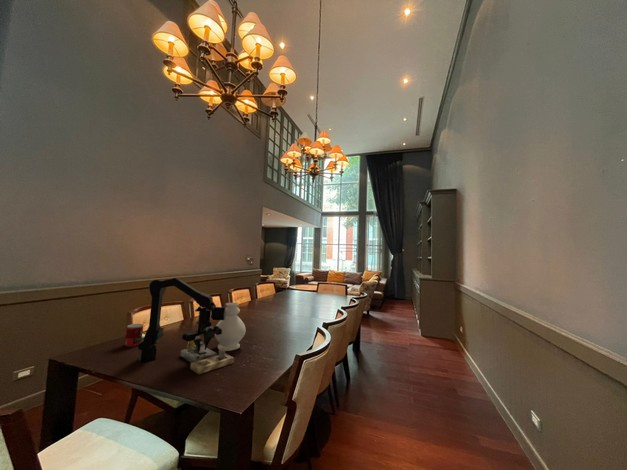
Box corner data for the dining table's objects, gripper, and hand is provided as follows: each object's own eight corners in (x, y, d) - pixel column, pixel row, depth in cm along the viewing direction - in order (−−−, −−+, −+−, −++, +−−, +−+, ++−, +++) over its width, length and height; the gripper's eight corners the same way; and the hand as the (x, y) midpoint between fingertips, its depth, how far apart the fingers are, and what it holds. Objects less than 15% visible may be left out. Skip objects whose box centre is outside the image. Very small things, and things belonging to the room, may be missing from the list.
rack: (198, 374, 112) (200, 360, 113) (190, 368, 117) (191, 355, 118) (233, 362, 126) (234, 350, 127) (224, 358, 131) (225, 346, 132)
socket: (195, 365, 121) (196, 355, 122) (180, 356, 131) (181, 346, 132) (216, 359, 130) (217, 349, 130) (200, 350, 140) (201, 341, 140)
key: (194, 351, 130) (195, 343, 130) (187, 347, 135) (187, 340, 135) (202, 349, 133) (203, 341, 133) (195, 345, 138) (195, 338, 138)
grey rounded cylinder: (199, 360, 127) (200, 344, 128) (196, 358, 129) (198, 342, 130) (205, 358, 129) (206, 342, 130) (202, 357, 131) (203, 341, 132)
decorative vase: (248, 343, 156) (251, 302, 158) (237, 353, 138) (240, 307, 141) (221, 340, 158) (224, 300, 160) (206, 350, 140) (210, 305, 143)
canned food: (135, 347, 140) (137, 327, 141) (121, 346, 140) (123, 326, 141) (144, 343, 147) (146, 324, 148) (131, 342, 147) (133, 323, 148)
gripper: (194, 326, 119) (191, 360, 117) (228, 320, 133) (226, 350, 132) (183, 321, 126) (180, 353, 124) (217, 316, 140) (215, 345, 139)
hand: (201, 350), depth 129 cm, fingers closed on grey rounded cylinder, 3 cm apart
